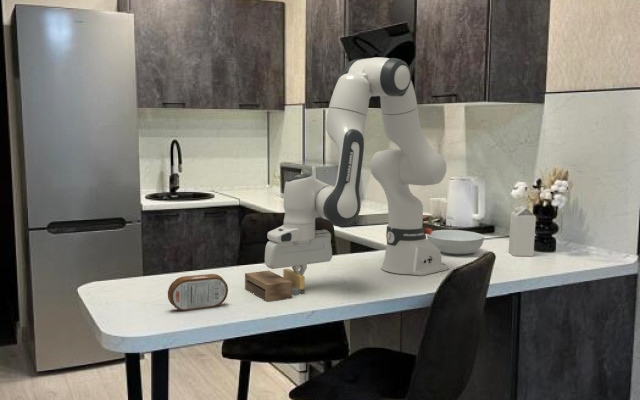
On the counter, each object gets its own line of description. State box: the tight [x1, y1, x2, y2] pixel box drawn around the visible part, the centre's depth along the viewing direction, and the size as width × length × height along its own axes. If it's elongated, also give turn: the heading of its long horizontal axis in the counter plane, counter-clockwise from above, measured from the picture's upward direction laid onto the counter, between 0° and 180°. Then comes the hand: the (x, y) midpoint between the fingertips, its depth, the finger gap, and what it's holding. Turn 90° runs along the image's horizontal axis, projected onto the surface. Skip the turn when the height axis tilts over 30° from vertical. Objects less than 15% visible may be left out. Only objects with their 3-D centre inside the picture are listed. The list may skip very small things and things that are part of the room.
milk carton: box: [508, 202, 537, 257], centre depth 223 cm, size 7×7×19 cm
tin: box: [167, 273, 229, 312], centre depth 151 cm, size 15×3×8 cm, turn 118°
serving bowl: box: [426, 229, 485, 256], centre depth 225 cm, size 21×21×7 cm
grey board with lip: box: [282, 268, 306, 296], centre depth 167 cm, size 11×10×5 cm
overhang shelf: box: [244, 270, 293, 302], centre depth 165 cm, size 8×14×4 cm, turn 31°
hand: (299, 280), depth 170 cm, fingers closed
